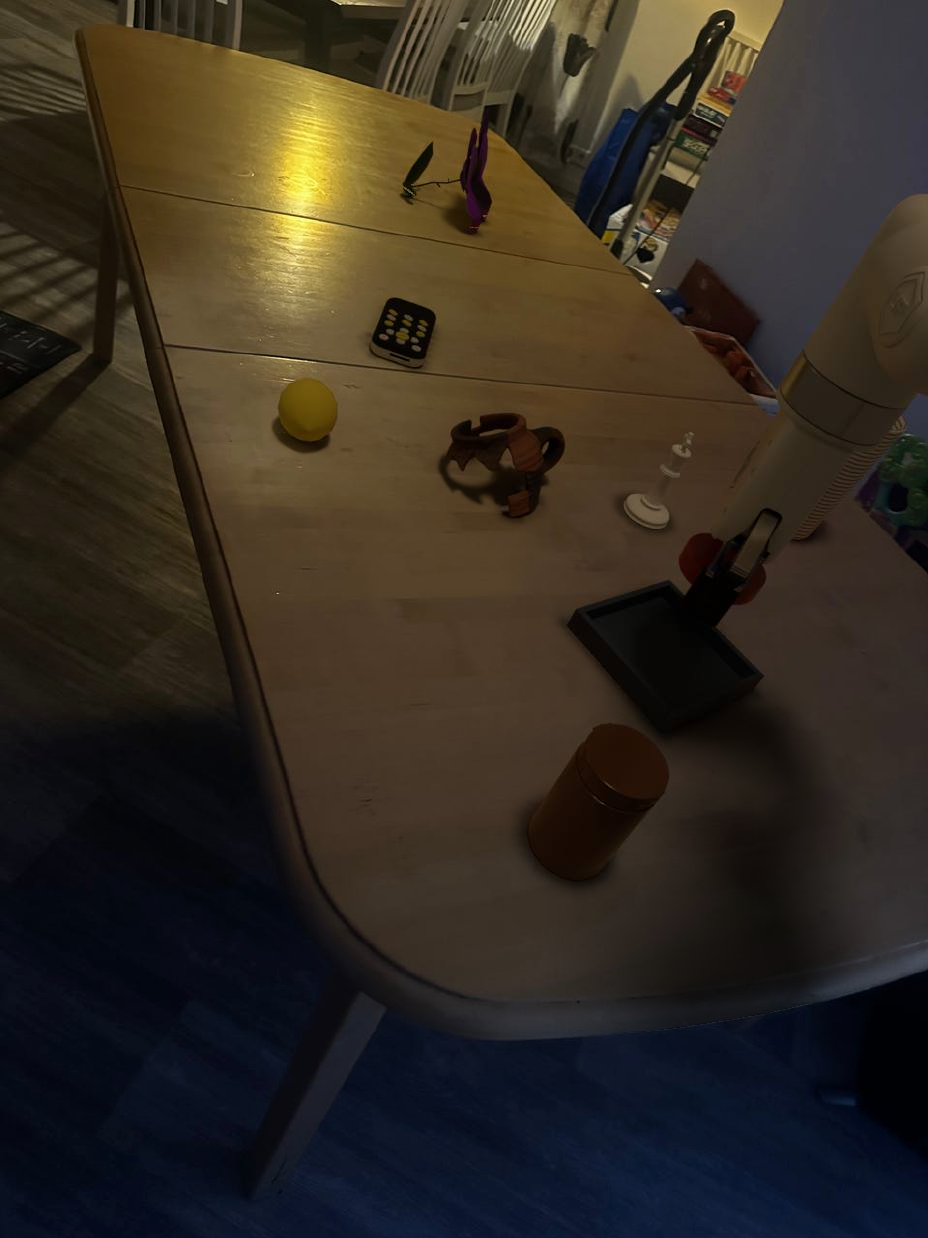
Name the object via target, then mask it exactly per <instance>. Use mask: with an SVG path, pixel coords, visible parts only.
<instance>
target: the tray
mask: <svg viewBox="0 0 928 1238" xmlns="http://www.w3.org/2000/svg"><path fill="white" fill-rule="evenodd" d="M684 596H685V594H684V593H683V592H682V591H681V589H680V588H678V587H677V586H676V585H675V584H674V583H673V582H672V581H671V580H670V579H666V580H664V581H660V582H657V583H654V584H651V585H648V586H644V587H641V588H639V589H635V590H632V591H629V592H625V593H623V594H619V595H615V596H612V597H609V598H607V599H604V600H600V601H596V602H593V603H591V604H587V605H584V606H581V607H578V608H576V609H575V610H574V612H573V613H572V615H571V617H570V619H569V621H568V623H567V624H566V625H567V627H568V628H569V629H570V630H571V631H572V632H573V634H574V635H575V636H576V637H577V639H579V640H580V641H581V643H582V644H583V645H584V646H585V648H587V649H588V651H589V652H590V653H591V654H592V655H593V657H595V659H596V660H597V661H598V663H600V664H601V665H602V667H603V668H604V669H605V670H606V671H607V672H608V673H609V674H610V676H612V678H613V679H614V680H615V682H616V683H618V685H619V686H620V687H621V688H622V689H623V690H624V692H626V694H627V696H629V697H630V698H631V700H632V701H633V702H634V703H635V704H636V705H637V707H638V708H639V709H640V710H641V711H642V712H643V713H644V714H645V715H646V717H647V718H648V719H649V720H650V722H651V723H653V725H654V726H655V727H656V728H657V729H658V730H659V732H660V733H661V734H664V733H666V732H668V731H670V730H673V729H674V728H676V727H679V726H681V725H683V724H685V723H687V722H689V721H691V720H693V719H696V718H699V717H700V716H702V715H704V714H707V713H708V712H711V711H713V710H714V709H716V708H719V707H720V706H723V705H725V704H727V703H729V702H732V701H733V700H735V699H737V698H740V697H742V696H744V695H746V694H748V693H750V692H753V691H754V689H755V688H756V687H757V686H758V684H760V682H761V681H762V680H763V679H764V677H765V675H764V673H762V671H760V670H759V669H758V668H757V666H755V664H753V663H752V662H751V660H749V658H748V657H746V656H745V654H743V653H742V651H740V650H739V648H738V647H736V646H735V645H734V643H733V642H732V641H731V640H730V639H729V638H727V636H726V635H725V634H723V632H722V631H721V630H720V629H719V628H718V627H717V626H715V627H712V626H709V625H708V624H706V623H704V622H702V621H700V620H698V619H697V618H695V617H693V616H691V615H689V614H687V613H686V612H684V611H682V610H681V609H680V608H679V605H680V602H681V600H682V599H683V597H684Z"/></svg>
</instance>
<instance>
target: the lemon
mask: <svg viewBox="0 0 928 1238" xmlns="http://www.w3.org/2000/svg"><path fill="white" fill-rule="evenodd" d="M338 404H339V403H338V402H337V400H336V397H335V395H334V392H333V391H332V390H331V389H330V388H329V387H328V386H327V385H326V384H325V383H324V382H323V381H322V380H319V379H315V378H311V377H303V378H300V379H297V380H295V381H292V382H290V383H289V382H288V384H287V386H285V388H284V389H283V390H282V391H281V392H280V396H279V399H278V405H277V411H278V416H279V421H280V424H281V425H282V427H283V428H284V430H286V432H287V433H288V434H289V435H290V436H292V437H294V438H295V439H297V440H300V441H303V442H316V441H320V440H322V439H323V437H325V436H326V435H328V434H330V433H331V432H333V430H334V428H335V425H336V423H337V421H338V417H339V416H338V411H339V410H338V409H339V408H338Z"/></svg>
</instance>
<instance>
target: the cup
mask: <svg viewBox="0 0 928 1238" xmlns="http://www.w3.org/2000/svg"><path fill="white" fill-rule="evenodd" d="M907 427H908V424H907V421H906V420H905V418H904V415H903V414H902V415H901V416H900V418H899V419H898V420H897V422H896V423H895V424H894V426H893V427H892V428H891V430H890V431H889V432H888V433H887V435H886V436H885V437H884V439H883V440H882V442H881V443H880V444H879V446H878V447H877V448H876V449H875V450H873V451H871V452H855V451H854V452H853V454H852V455H851V456H850V458H849V459H848V461H847V462H846V464H845V465H844V467H843V468H842V470H841V471H840V472H839V474H838V475H837V478H836V480H835V481H833V482H832V484H831V485H830V487H829V488H828V490H827V491H826V492H825V494H824V495H823V497H822V498H821V500H820V501H819V502H818V504H817V505H816V507H815V508H814V509H813V511H812V512H811V513H810V515H809V516H808V518H807V519H806V520H805V522H804V523H803V524H802V526H801V527H800V528H799V530H798V531H797V532H796V534H795V535H794V536H793V538H792V539H791V540H798V541H802V540H805V539H807V538H808V537H810V535H812V533H813V532H814V531H815V530H816V529H817V528H818V527H819V526H820V524H822V522H823V521H824V520H825V519H826V518H827V517H828V516H829V514H830V513H832V512H833V510H834V509H835V508H836V507H837V506H838V505H839V504H840V503H841V501H842V500H843V499H844V498H845V497H846V496H847V495H848V494H849V492H851V491H852V489H853V488H854V487H855V486H856V485H857V484H858V483H859V482H860V480H861V479H862V478H864V476H865V475H866V474H867V473H868V472H869V471H870V469H871V468H872V467H873V466H874V465H875V464H876V463H877V462H878V461H879V460H880V459H881V458H882V457H883V455H884V454H885V453H886V452H887V451H888V450H889V449H890V448H891V446H892V445H893V444H895V442H896V441H897V440H898V439H899V437H900V436H902V434H903V433H904V432H906V429H907Z"/></svg>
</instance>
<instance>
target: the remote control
mask: <svg viewBox="0 0 928 1238" xmlns="http://www.w3.org/2000/svg"><path fill="white" fill-rule="evenodd" d="M436 321H437V316H436V312H434V311H433V310H432V309H430V308H428V307H426V306H423V305H420V304H418V303H416V302H412V301H409V300H406V299H403V298H401V297H390V298H388V299H387V300H386V301H385V304H384V306H383V308H382V311H381V314H380V316H379V319H378V321H377V323H376V326H375V329H374V331H373V334H372V336H371V339H370V342H369V343H370V344H369V345H370V350H371V351H372V353H374V355H376V356H379V357H381V358H384V359H386V360H390V361H393V362H395V363H398V364H402V365H405V366H408V367H412V368H418V367H421V366H422V365H423V364H425V360H426V356H427V353H428V350H429V346H430V343H431V339H432V336H433V333H434V328H435V325H436Z"/></svg>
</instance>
